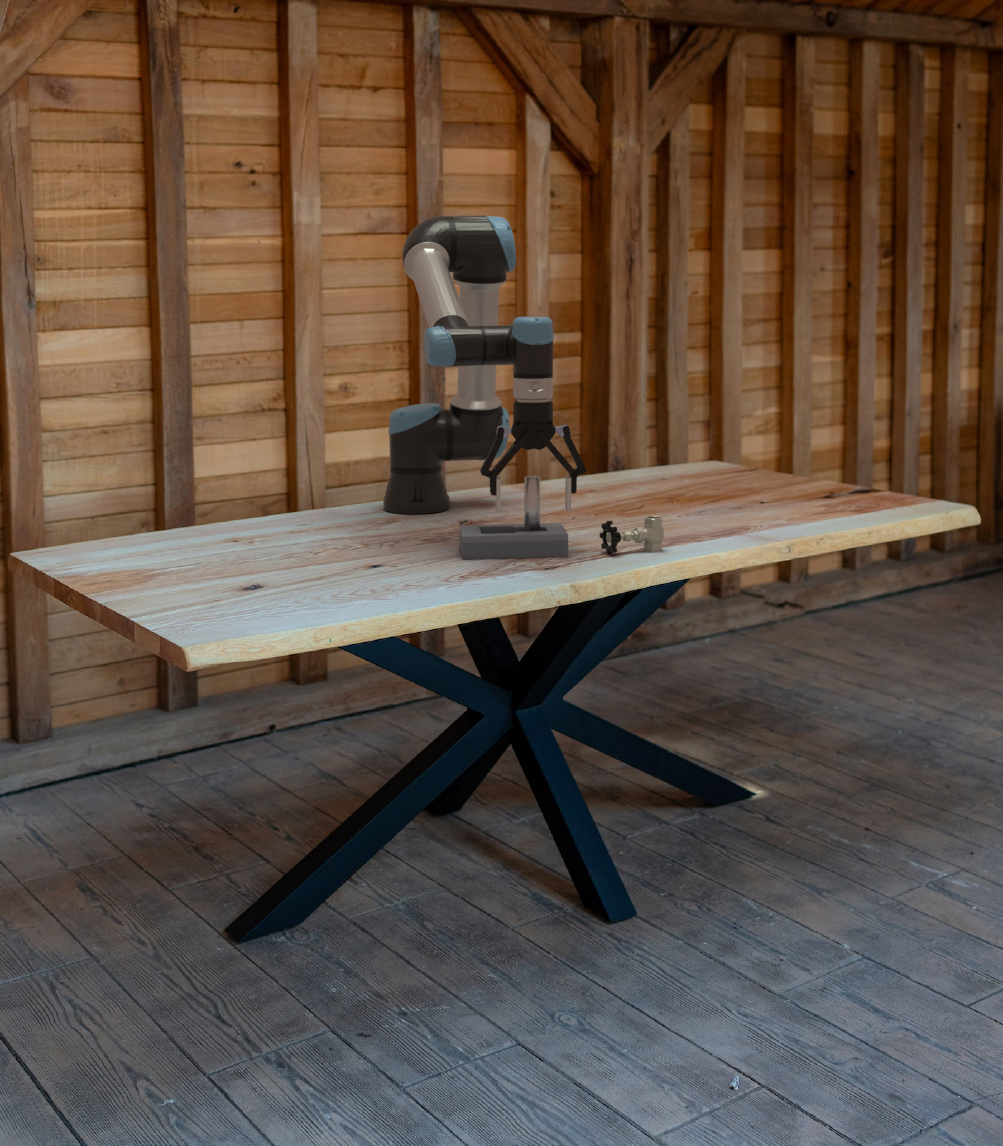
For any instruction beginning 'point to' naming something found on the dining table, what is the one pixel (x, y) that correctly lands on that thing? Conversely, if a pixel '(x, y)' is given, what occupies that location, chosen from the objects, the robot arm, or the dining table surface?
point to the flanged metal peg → (532, 503)
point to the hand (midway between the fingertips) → (533, 511)
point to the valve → (635, 535)
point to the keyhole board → (512, 541)
